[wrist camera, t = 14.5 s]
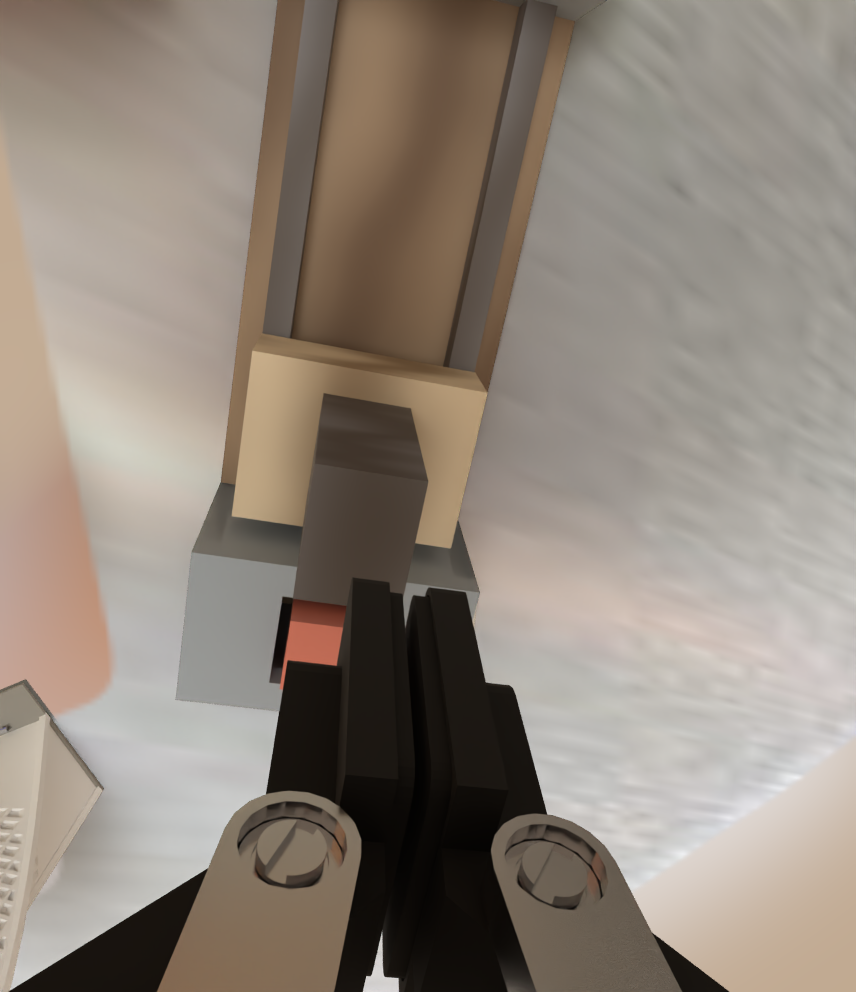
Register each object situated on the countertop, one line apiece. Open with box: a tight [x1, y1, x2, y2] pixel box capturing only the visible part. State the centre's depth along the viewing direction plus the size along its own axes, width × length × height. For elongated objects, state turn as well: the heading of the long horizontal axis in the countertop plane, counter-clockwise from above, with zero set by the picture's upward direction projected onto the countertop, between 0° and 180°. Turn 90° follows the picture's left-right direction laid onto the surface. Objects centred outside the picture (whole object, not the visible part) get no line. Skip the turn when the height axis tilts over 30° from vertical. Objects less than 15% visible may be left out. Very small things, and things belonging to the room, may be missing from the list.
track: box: [221, 0, 575, 604], centre depth 31 cm, size 10×28×3 cm, turn 168°
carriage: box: [232, 333, 487, 606], centre depth 26 cm, size 8×6×10 cm
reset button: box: [280, 599, 347, 690], centre depth 30 cm, size 3×3×4 cm
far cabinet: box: [176, 482, 480, 711], centre depth 32 cm, size 11×6×8 cm, turn 78°
